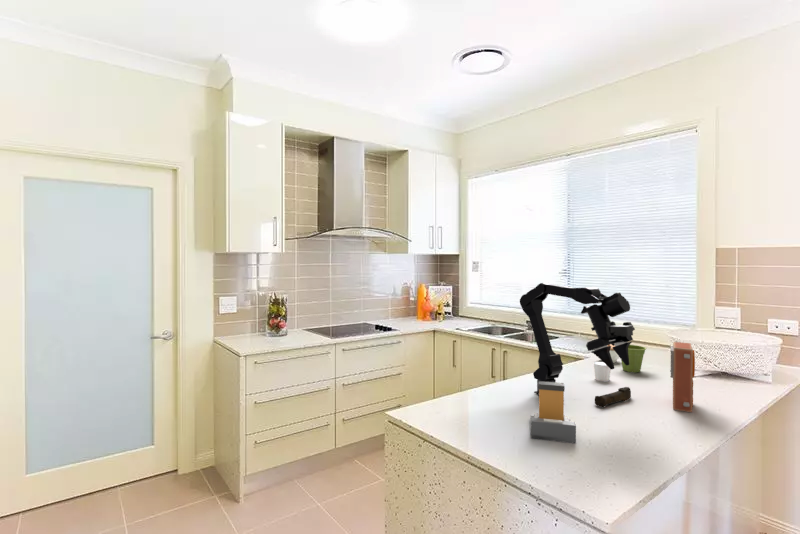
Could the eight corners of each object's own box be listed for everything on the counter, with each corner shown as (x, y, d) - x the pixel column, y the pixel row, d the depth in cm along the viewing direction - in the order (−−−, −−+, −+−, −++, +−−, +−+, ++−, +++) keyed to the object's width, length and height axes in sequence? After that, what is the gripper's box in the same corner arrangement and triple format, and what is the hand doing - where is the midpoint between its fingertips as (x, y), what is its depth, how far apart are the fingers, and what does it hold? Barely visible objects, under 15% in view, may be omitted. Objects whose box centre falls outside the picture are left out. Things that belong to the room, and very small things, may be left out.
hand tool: (604, 409, 148) (604, 395, 148) (593, 405, 151) (594, 392, 151) (637, 400, 157) (637, 388, 157) (627, 397, 160) (627, 385, 160)
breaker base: (530, 418, 138) (530, 402, 138) (570, 422, 135) (570, 405, 135) (531, 438, 123) (531, 420, 123) (575, 443, 120) (575, 424, 119)
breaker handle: (538, 419, 134) (538, 381, 134) (563, 421, 132) (563, 383, 132) (538, 422, 131) (538, 384, 131) (564, 425, 129) (564, 386, 129)
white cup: (612, 378, 185) (612, 362, 185) (610, 382, 179) (610, 366, 179) (594, 376, 188) (594, 360, 188) (592, 380, 183) (592, 364, 182)
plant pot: (651, 374, 192) (652, 349, 192) (625, 374, 192) (625, 349, 192) (637, 367, 204) (637, 344, 204) (612, 367, 204) (612, 344, 204)
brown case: (692, 401, 155) (694, 414, 142) (669, 398, 159) (670, 410, 146) (693, 342, 155) (695, 350, 142) (670, 340, 158) (670, 348, 146)
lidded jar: (600, 363, 213) (600, 344, 212) (594, 358, 223) (594, 340, 223) (623, 364, 211) (623, 345, 211) (616, 359, 221) (616, 341, 221)
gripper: (606, 315, 134) (628, 364, 128) (636, 311, 144) (657, 356, 139) (577, 327, 142) (596, 373, 137) (608, 322, 153) (626, 365, 147)
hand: (620, 367), depth 140 cm, fingers open, 9 cm apart
